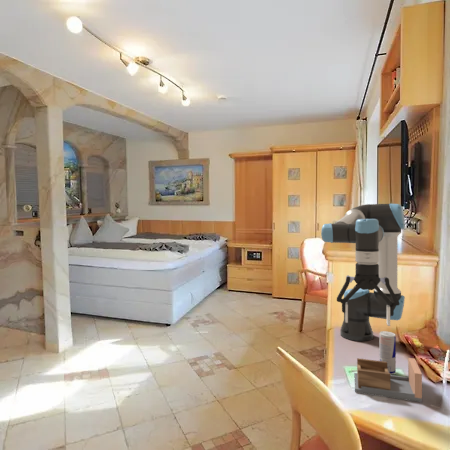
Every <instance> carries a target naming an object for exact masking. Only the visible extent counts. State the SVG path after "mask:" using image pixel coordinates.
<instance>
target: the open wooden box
mask: <svg viewBox="0 0 450 450" xmlns="http://www.w3.org/2000/svg"><path fill="white" fill-rule="evenodd" d="M356 360H357V362H356V367H357V368H356V373H357V377H358V388H361V386H365V387H372V388H379V389H386V390H390V373H389V372H388V369H387V362H384V361H379V360H374V359H366V358H356Z"/></svg>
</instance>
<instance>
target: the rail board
mask: <svg viewBox="0 0 450 450" xmlns="http://www.w3.org/2000/svg"><path fill="white" fill-rule="evenodd" d="M407 359H408V360H407V361H408V364H407V366H408V367H407V368H408V371H407V372H408V374H407V376H401V375H396V374H393V375H390V390H386V389H379V388H372V387H365V386H361V388H358V377H357V372H354V374H353V375H354V378H355V379H354V392H355V393H358V394H365V395H372V396H379V397H384V398H392V399H398V400H405V401H412V402H418V403H422V402H423V374H422V371H421V369H420V367H419V365H418V362H417V361H416V358H413V357H412V358H410V357H408V358H407Z"/></svg>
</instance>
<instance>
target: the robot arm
mask: <svg viewBox="0 0 450 450" xmlns="http://www.w3.org/2000/svg"><path fill="white" fill-rule="evenodd" d="M404 215H405V214H404V209H403V206H402V204H400V203H373V204H372V203H371V204H370V203H369V204H368V203H367V204H361V205H358V206H355V207H353V208H350V209H349V210H348V211H346V212H345V214H344V215H343V216H342V217H341V218H340V219H338V220H337V221H336V222H335V223H324V224H322V227H321V229H320V230H321V231H320V233H321V235H320V236H321V240H322V241H323V242H324V243H331V244H334V243H335V244H342V243H343V244H355V251H354V252H355V254H354V255H355V262H356V263H355V275H354V276H350V275H346V276H345V282H344V284H343V286H342V287H341V288H340V289H341V290H340V291H339V293H338V295H337V297H336V302H338V303H340V304H341V312H342V313H343V321H342V324H341V327H340V329H339V330H340V333H339V334H340V336H341V337H342V338H344V339H346V340H350V341H355V342H367V341H371V340H373V339H374V332H373V328H372V326H371V322H370V318H373V319H374V318H375V319H376V318H377V319H381V320H382V319H383V320H386V325H387V326H388V327H391V321H400V320H401V319H402V318H403V317H402V316H403V312H404V306H405V299H406V298H405V296H404V295H402V291H401V290H400V289H399V288H398V237H399V236H400V235H401V234H402V230H404V229H405V227H406V225H405V223H406V222H405V216H404ZM353 281H354V282H355V283H356V284H355V285H354V286H353V288H348V287H349V285H350V284H351V283H352V282H353ZM371 291H373V292H371Z"/></svg>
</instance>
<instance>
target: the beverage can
mask: <svg viewBox="0 0 450 450" xmlns="http://www.w3.org/2000/svg"><path fill="white" fill-rule="evenodd" d="M396 337H397V336H396V334H395V333H394V332H391V331H386V330H385V331H384V330H383V331H380V332H379V338H378V339H379V342H378V345H379V350H378V352H379V354H378V355H379V356H378V357H379V358H378V359H379V360H378V361H384V362H387V369H388V372H389V373H390V375H396V372H397V370H396V369H397V367H396V363H397V360H396V355H397V354H396V353H397V351H396V349H397V347H396V346H397V345H396V344H397V342H396V341H397V338H396Z"/></svg>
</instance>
